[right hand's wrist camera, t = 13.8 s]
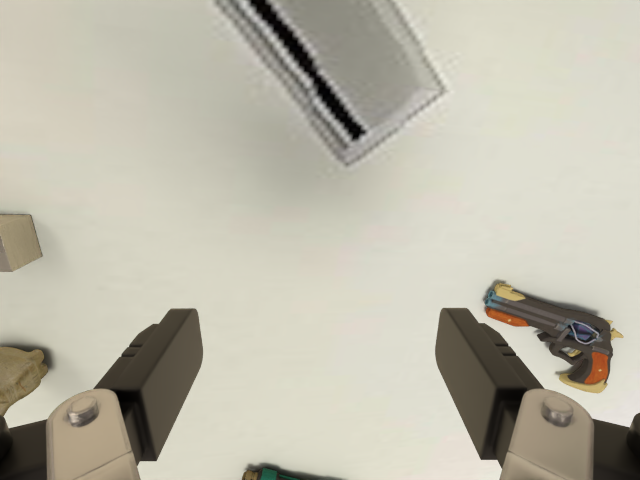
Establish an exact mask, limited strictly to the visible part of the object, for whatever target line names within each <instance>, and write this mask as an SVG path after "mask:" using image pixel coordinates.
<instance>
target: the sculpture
mask: <svg viewBox="0 0 640 480" xmlns="http://www.w3.org/2000/svg"><path fill="white" fill-rule="evenodd" d="M43 359H44V354H43V352H42V351H41V350H37V349H36V350H33V351H31V352H25V351H23V350H20V349H16V348H12V347H0V415H2V416H4V415H5V413H6V411H7V410H8V408H9V407H10V406H11V405H13V404H14V403H15V402H17V401H18V400H20V399H22V398H24V397H25V396H27V395H29V394H30V393H31V392H33V391H34V390H35V389H36V388H37V387H38V386H39V385H40V383H41V379H42V378H43V377H44V376H45V375H46V374H47V372H48V368H47V365H46V364H45V363H42V361H43Z"/></svg>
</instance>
